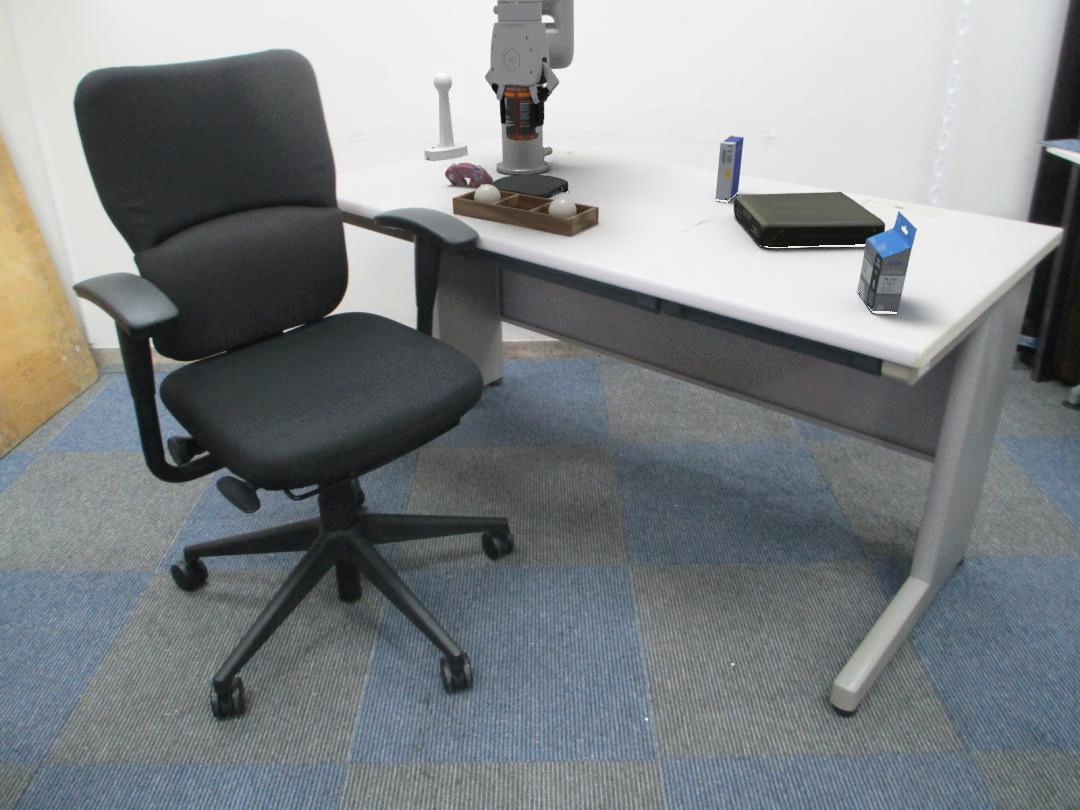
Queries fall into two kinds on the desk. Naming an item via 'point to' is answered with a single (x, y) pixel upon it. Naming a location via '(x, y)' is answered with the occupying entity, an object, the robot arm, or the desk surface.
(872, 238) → the grey and blue box
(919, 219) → the desk surface
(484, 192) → the egg
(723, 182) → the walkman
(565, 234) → the holder
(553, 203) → the egg
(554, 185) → the media streaming box
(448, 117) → the joystick
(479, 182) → the video game controller
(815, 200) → the network switch
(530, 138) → the supplement bottle
